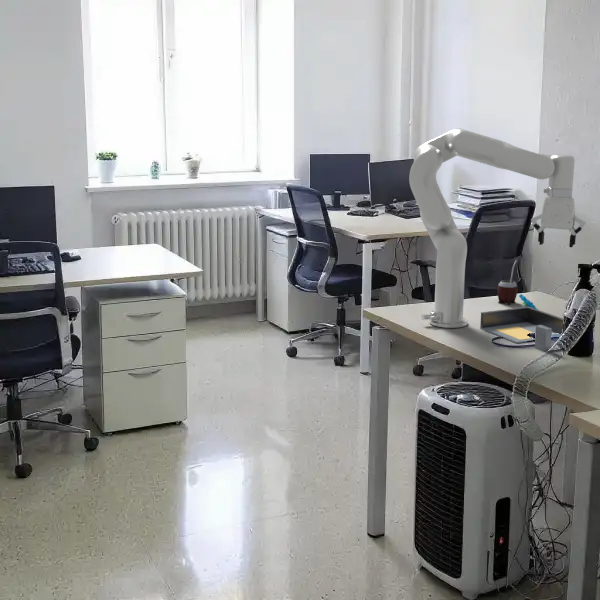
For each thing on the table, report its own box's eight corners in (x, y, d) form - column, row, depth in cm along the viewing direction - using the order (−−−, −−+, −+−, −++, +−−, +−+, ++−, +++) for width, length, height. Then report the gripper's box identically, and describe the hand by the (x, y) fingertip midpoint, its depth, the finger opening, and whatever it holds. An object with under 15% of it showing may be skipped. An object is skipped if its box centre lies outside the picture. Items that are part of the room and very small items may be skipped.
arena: (516, 343, 281) (517, 326, 280) (480, 328, 298) (481, 312, 297) (565, 336, 289) (567, 319, 287) (527, 322, 306) (528, 306, 304)
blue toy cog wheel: (546, 314, 309) (525, 294, 309) (533, 326, 310) (513, 306, 309) (537, 311, 320) (518, 291, 320) (525, 322, 321) (506, 302, 320)
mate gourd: (499, 305, 329) (501, 264, 325) (494, 300, 337) (496, 260, 333) (520, 305, 329) (522, 264, 326) (514, 299, 337) (516, 260, 333)
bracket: (545, 351, 273) (546, 329, 271) (534, 347, 277) (535, 325, 276) (563, 349, 276) (565, 326, 274) (552, 344, 280) (554, 323, 278)
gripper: (530, 193, 294) (527, 245, 298) (585, 196, 287) (581, 249, 291) (535, 190, 301) (532, 241, 305) (589, 193, 293) (585, 245, 297)
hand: (556, 245), depth 298 cm, fingers open, 9 cm apart
